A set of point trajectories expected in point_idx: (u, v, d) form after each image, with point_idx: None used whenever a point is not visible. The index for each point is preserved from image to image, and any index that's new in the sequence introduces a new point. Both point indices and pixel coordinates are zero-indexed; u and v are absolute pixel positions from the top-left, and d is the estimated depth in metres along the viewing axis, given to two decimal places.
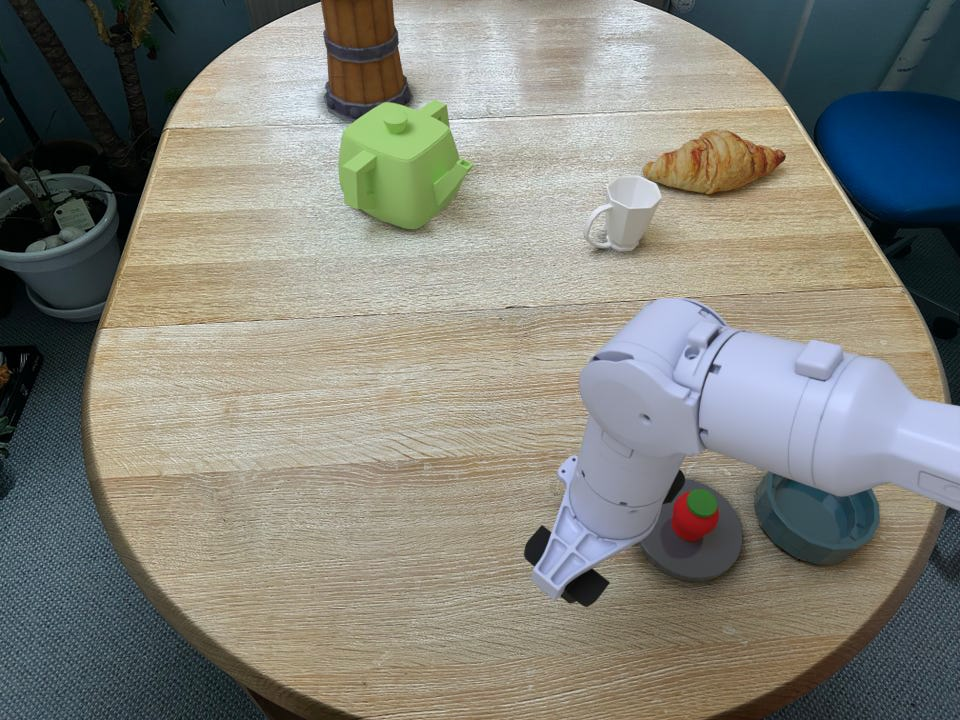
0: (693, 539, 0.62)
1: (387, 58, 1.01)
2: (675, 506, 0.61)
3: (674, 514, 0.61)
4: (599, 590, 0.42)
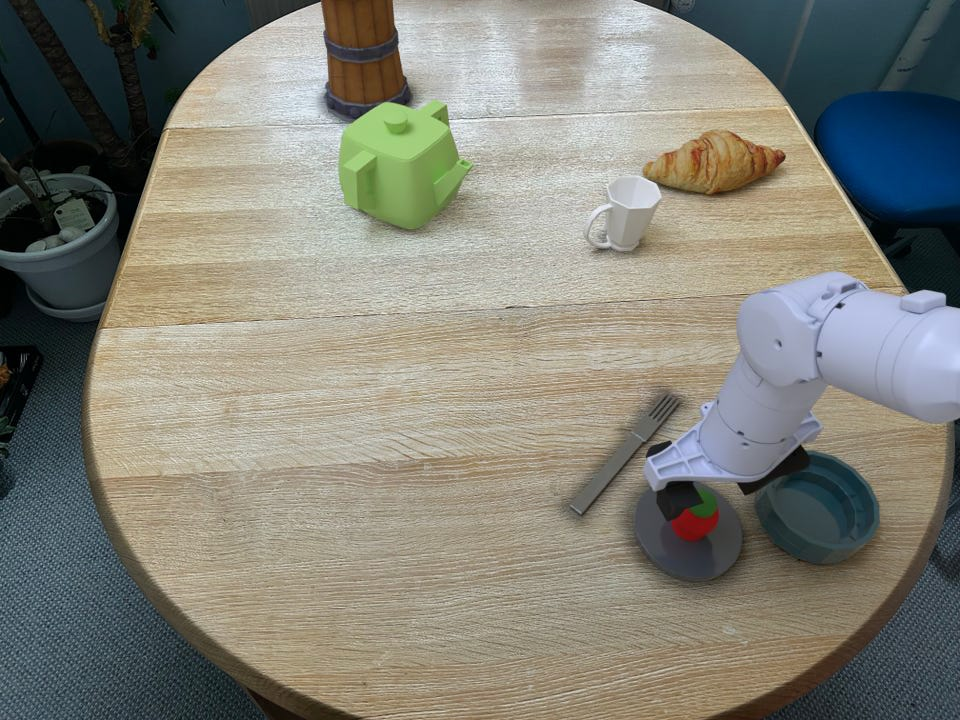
0: (693, 539, 0.62)
1: (387, 58, 1.01)
2: None
3: None
4: (692, 503, 0.51)
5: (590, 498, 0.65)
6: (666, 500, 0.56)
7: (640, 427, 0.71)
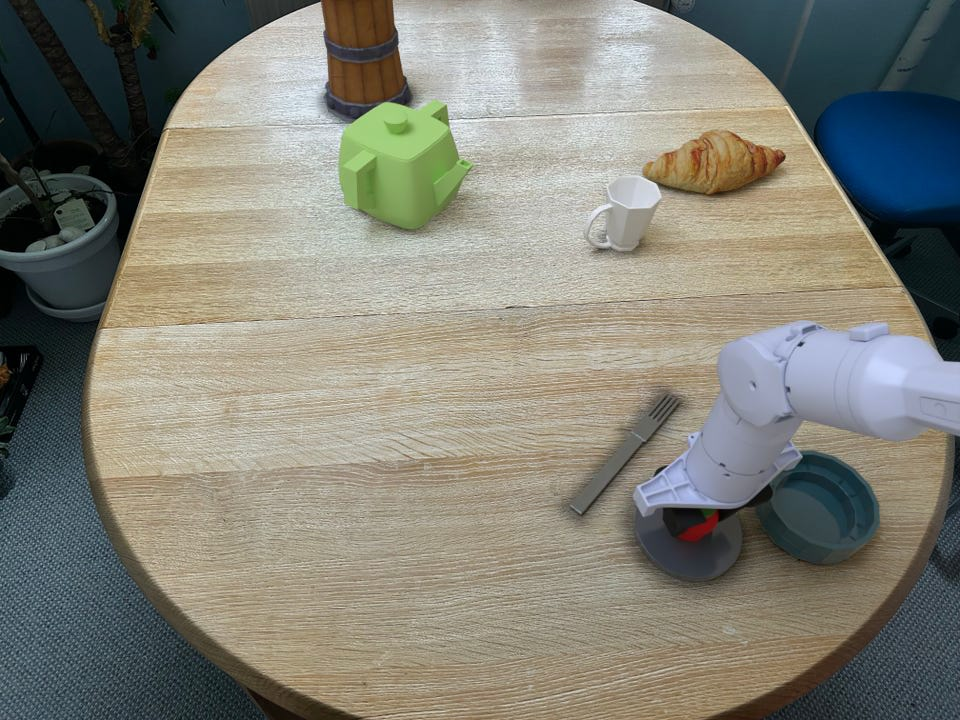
0: (693, 539, 0.62)
1: (387, 58, 1.01)
2: None
3: None
4: (697, 522, 0.55)
5: (590, 498, 0.65)
6: (672, 518, 0.60)
7: (640, 427, 0.71)
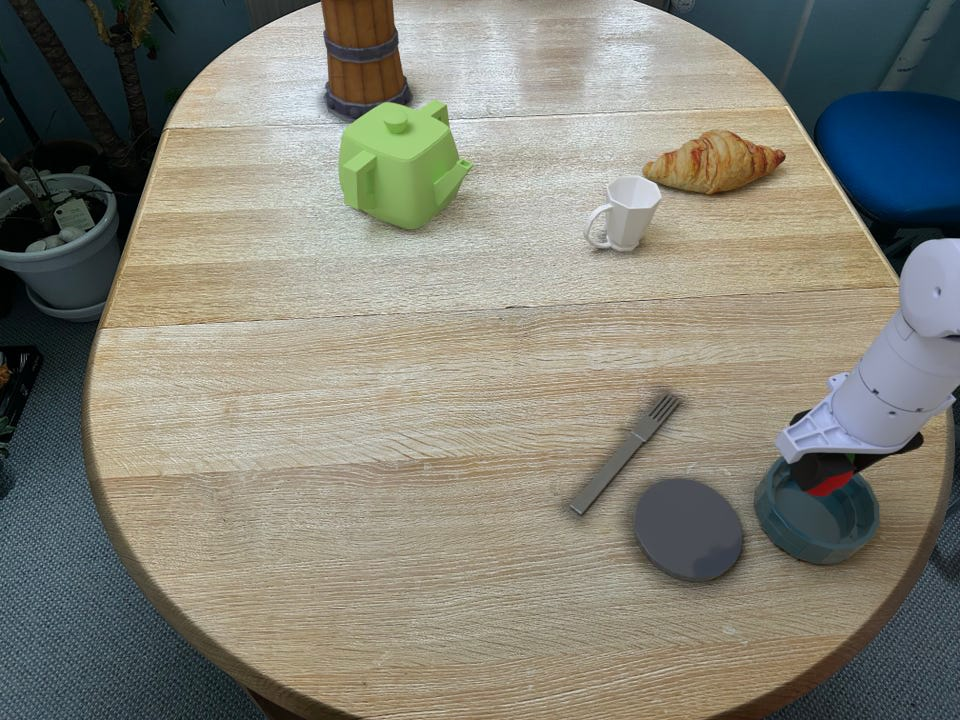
0: (823, 494, 0.57)
1: (387, 58, 1.01)
2: None
3: None
4: (846, 469, 0.50)
5: (590, 498, 0.65)
6: (805, 469, 0.56)
7: (640, 427, 0.71)
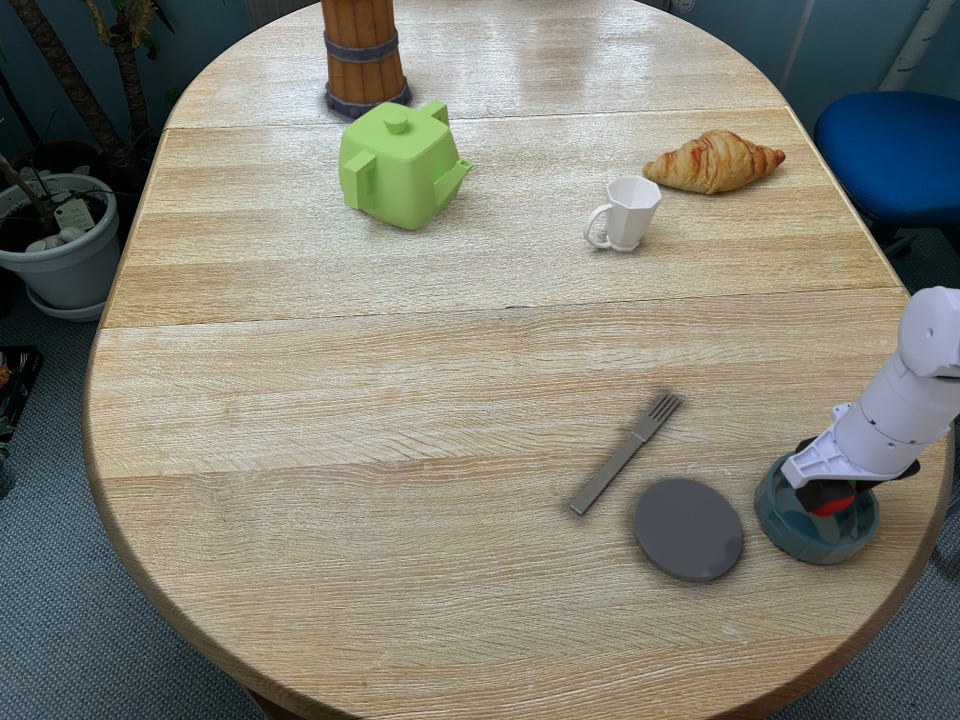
0: (826, 514, 0.61)
1: (387, 58, 1.01)
2: None
3: None
4: (848, 494, 0.54)
5: (590, 498, 0.65)
6: (810, 492, 0.59)
7: (640, 427, 0.71)
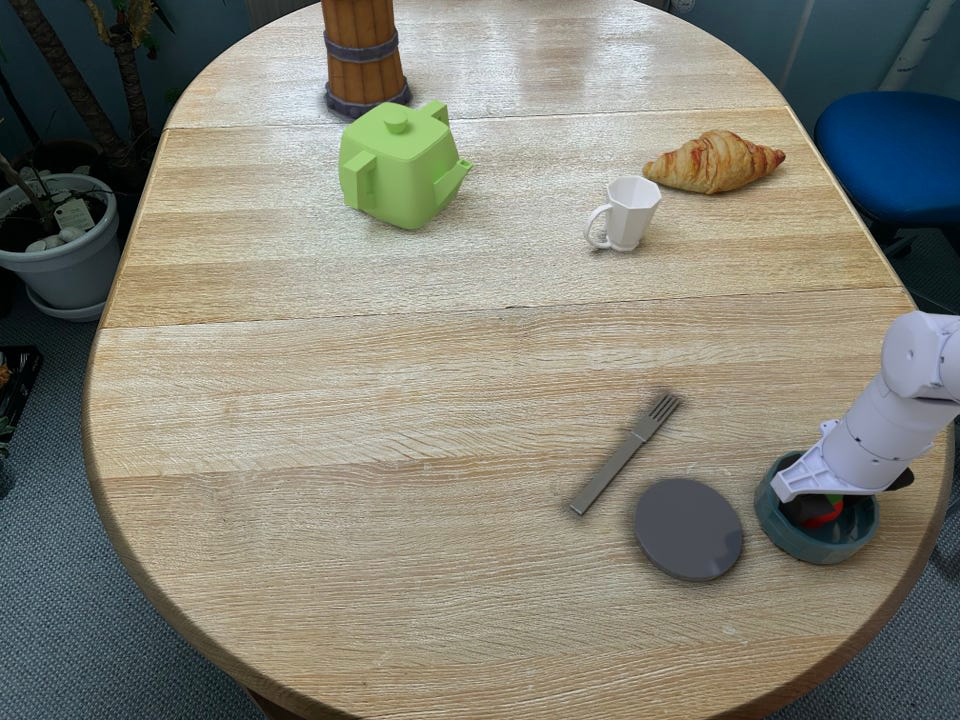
0: (815, 526, 0.63)
1: (387, 58, 1.01)
2: None
3: None
4: (826, 511, 0.56)
5: (590, 498, 0.65)
6: (791, 508, 0.61)
7: (640, 427, 0.71)
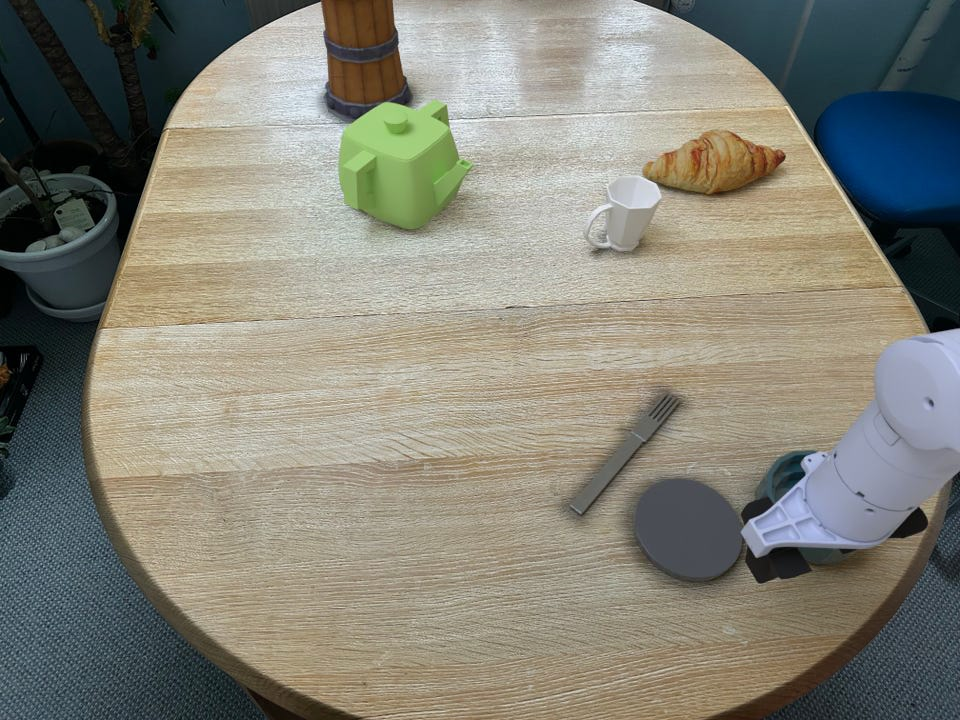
0: None
1: (387, 58, 1.01)
2: None
3: None
4: (800, 571, 0.45)
5: (590, 498, 0.65)
6: (760, 561, 0.50)
7: (640, 427, 0.71)
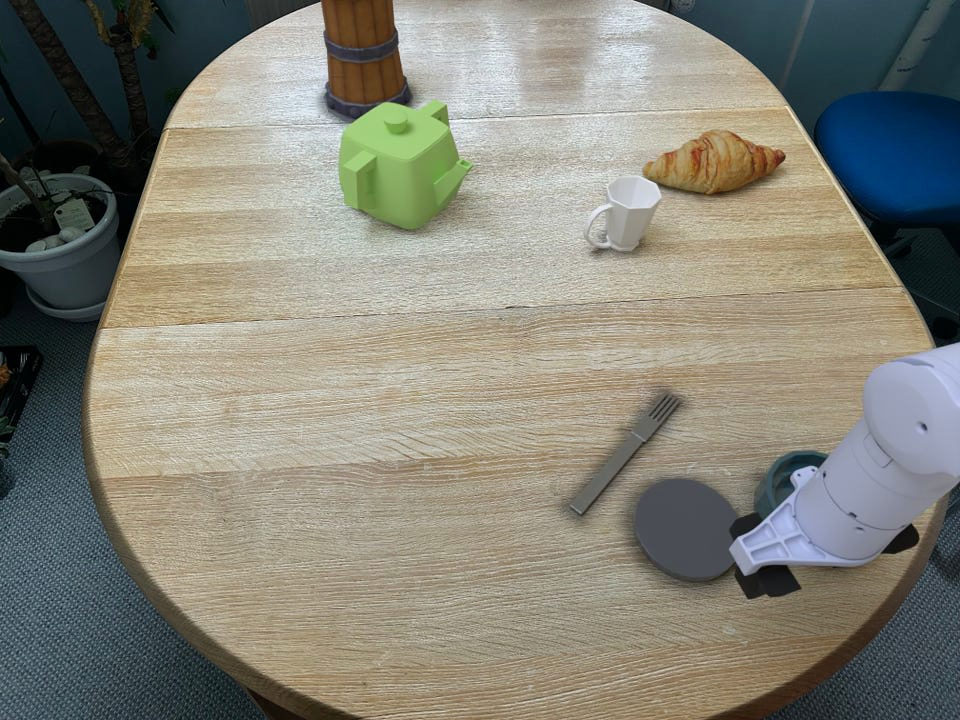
0: None
1: (387, 58, 1.01)
2: None
3: None
4: (789, 589, 0.44)
5: (590, 498, 0.65)
6: (749, 577, 0.49)
7: (640, 427, 0.71)
